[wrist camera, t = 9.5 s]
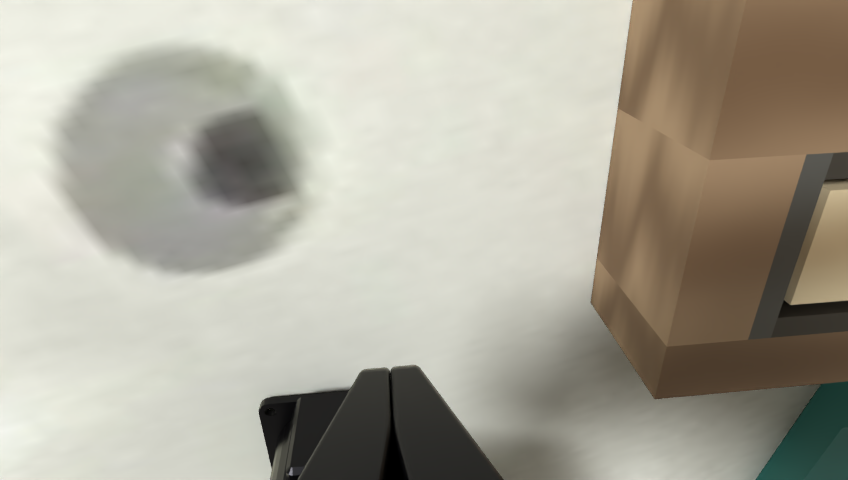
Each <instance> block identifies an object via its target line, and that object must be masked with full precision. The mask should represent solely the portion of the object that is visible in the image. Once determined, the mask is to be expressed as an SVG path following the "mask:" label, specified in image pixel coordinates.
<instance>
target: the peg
mask: <svg viewBox="0 0 848 480" xmlns="http://www.w3.org/2000/svg"><path fill="white" fill-rule="evenodd" d="M784 300H785V301H786V302H787V303H788V304H790V305H798V304H810V303H823V302H835V301H847V300H848V178H846V179H830V180H824V183H823V186H822V189H821V192H820V195H819V198H818V201H817V204H816V207H815V210H814V213H813V215H812V218H811V221H810V224H809V227H808V230H807V233H806V236H805V239H804V242H803V245H802V248H801V251H800V254H799V257H798V260H797V262H796V265H795V268H794V271H793V274H792V277H791V280H790V283H789V286H788V289H787V292H786V295H785V298H784Z"/></svg>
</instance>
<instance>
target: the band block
mask: <svg viewBox="0 0 848 480" xmlns="http://www.w3.org/2000/svg"><path fill="white" fill-rule="evenodd" d="M846 178H848V0H633V3H632V10H631V18H630V25H629V32H628V39H627V46H626V53H625V61H624V68H623V75H622V82H621V89H620V96H619V103H618V111H617V118H616V125H615V132H614V139H613V146H612V154H611V161H610V168H609V175H608V182H607V189H606V197H605V204H604V211H603V218H602V225H601V232H600V239H599V247H598V254H597V261H596V268H595V275H594V282H593V290H592V297H591V304H592V305H593V307H594V308H595V310H596V311H597V313H598V314H599V316H600V317H601V319H602V320H603V322H604V323H605V325H606V326H607V328H608V329H609V331H610V332H611V334H612V335H613V337H614V339H615V340H616V342H617V343H618V345H619V346H620V348H621V349H622V351H623V352H624V354H625V355H626V357H627V358H628V360H629V361H630V363H631V364H632V366H633V367H634V369H635V370H636V372H637V373H638V375H639V376H640V378H641V379H642V381H643V382H644V384H645V385H646V387H647V388H648V390H649V391H650V393H651V394H652V396H653V397H654V399H662V398H673V397H683V396H694V395H705V394H716V393H727V392H738V391H749V390H759V389H770V388H781V387H792V386H803V385H814V384H824V383H835V382H846V381H848V300H847V301H835V302H823V303H810V304H798V305H790V304H788V303H787V302H786V301H785V300H784V298H785V295H786V292H787V289H788V286H789V283H790V280H791V277H792V274H793V271H794V268H795V265H796V262H797V260H798V257H799V254H800V251H801V248H802V245H803V242H804V239H805V236H806V233H807V230H808V227H809V224H810V221H811V218H812V215H813V213H814V210H815V207H816V204H817V201H818V198H819V195H820V192H821V189H822V186H823V183H824V180H830V179H846Z"/></svg>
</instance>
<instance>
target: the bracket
mask: <svg viewBox="0 0 848 480" xmlns="http://www.w3.org/2000/svg"><path fill="white" fill-rule="evenodd" d="M756 480H848V381H846V382H835V383H824V384H821V385H820V387H819V388H818V390H817V391H816V393H815V394H814V396H813V397H812V398H811V400H810V401H809V403H808V404H807V406H806V407H805V409H804V410H803V412H802V413H801V414H800V416H799V417H798V419H797V420H796V422H795V423H794V425H793V426H792V428H791V429H790V430H789V432H788V433H787V435H786V436H785V438H784V439H783V441H782V442H781V444H780V445H779V446H778V448H777V449H776V451H775V452H774V454H773V455H772V457H771V458H770V460H769V461H768V463H767V464H766V465H765V467H764V468H763V470H762V471H761V473H760V474H759V476H758V477H757V479H756Z"/></svg>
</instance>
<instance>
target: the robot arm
mask: <svg viewBox="0 0 848 480" xmlns="http://www.w3.org/2000/svg"><path fill="white" fill-rule="evenodd" d="M390 377H391V378H390ZM267 408H273V409H274V410H269V409H267ZM259 416H260V420H261V424H262V429H263V433H264V437H265V442H266V446H267V450H268V454H269V459H270V463H271V467H272V472H271V477H270V480H503V478H502V477H501V476H500V474H499V473H498V472H497V470H496V469H495V468H494V466H493V465H492V464H491V462H490V461H489V460H488V458H487V457H486V455H485V454H484V453H483V451H482V450H481V449H480V447H479V446H478V445H477V443H476V442H475V441H474V439H473V438H472V437H471V435H470V434H469V433H468V431H467V430H466V429H465V427H464V426H463V425H462V423H461V422H460V421H459V419H458V418H457V417H456V415H455V414H454V413H453V411H452V410H451V409H450V407H449V406H448V405H447V403H446V402H445V401H444V399H443V398H442V397H441V395H440V394H439V393H438V391H437V390H436V389H435V387H434V386H433V385H432V383H431V382H430V381H429V379H428V378H427V377H426V375H425V374H424V373H423V371H422V370H421V369H420V368H419V367H418V366H416V365H408V366H396V367H393V368H392V369H391V371H389V369H388V368H373V369H364V370H362V371H361V372H360V374H359V375H358V377H357V379H356V380H355V382H354V384H353V385H352V387H351V389H350V391H340V392H329V393H317V394H306V395H294V396H283V397H272V398H266V399H264V400H263V401H262V402H261V404H260V408H259Z"/></svg>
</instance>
